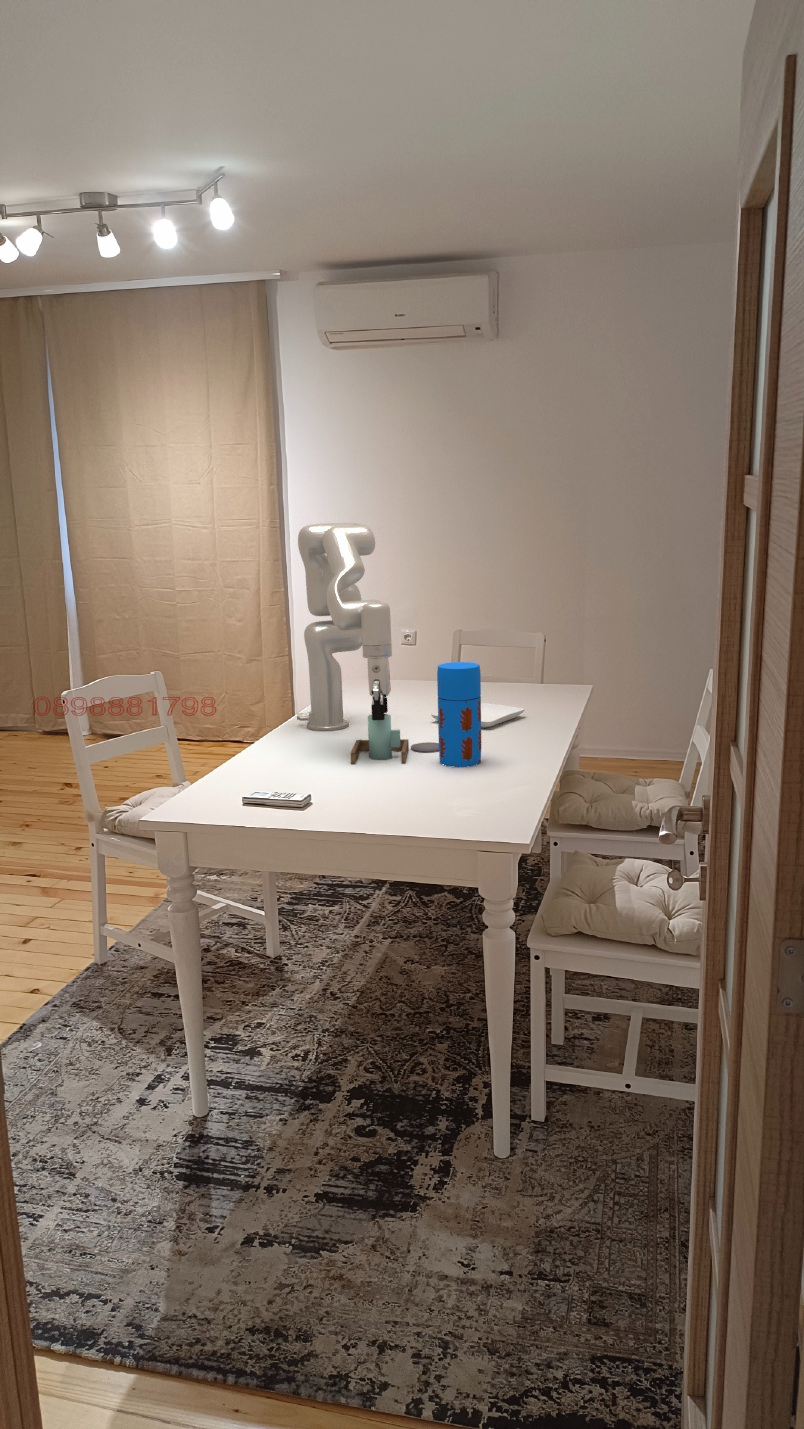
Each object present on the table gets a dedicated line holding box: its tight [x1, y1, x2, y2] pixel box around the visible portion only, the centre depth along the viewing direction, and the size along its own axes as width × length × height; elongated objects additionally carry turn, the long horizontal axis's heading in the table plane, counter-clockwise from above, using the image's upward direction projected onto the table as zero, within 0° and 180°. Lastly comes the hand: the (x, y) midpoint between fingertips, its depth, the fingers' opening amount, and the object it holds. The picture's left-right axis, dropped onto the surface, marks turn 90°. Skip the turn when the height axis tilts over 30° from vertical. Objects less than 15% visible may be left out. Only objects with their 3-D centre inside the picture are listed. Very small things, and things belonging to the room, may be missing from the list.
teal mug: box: [367, 713, 401, 761], centre depth 270 cm, size 8×6×11 cm
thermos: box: [436, 661, 482, 768], centre depth 261 cm, size 11×11×25 cm
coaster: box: [410, 741, 439, 754], centre depth 279 cm, size 9×9×1 cm
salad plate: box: [430, 702, 525, 729], centre depth 311 cm, size 21×21×3 cm
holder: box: [350, 738, 410, 765], centre depth 271 cm, size 14×14×3 cm
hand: (380, 716), depth 268 cm, fingers open, 9 cm apart
